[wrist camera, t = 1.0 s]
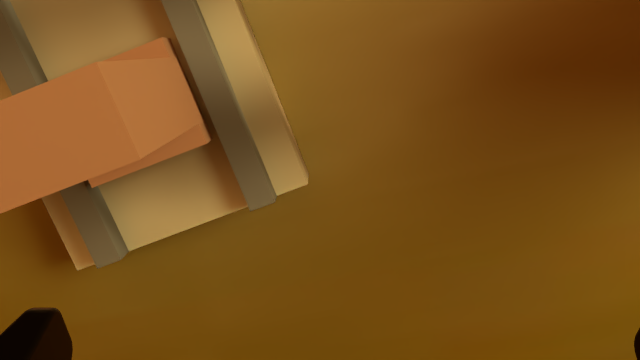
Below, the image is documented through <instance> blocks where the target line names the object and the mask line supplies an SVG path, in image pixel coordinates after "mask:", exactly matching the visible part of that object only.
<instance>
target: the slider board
mask: <svg viewBox="0 0 640 360" xmlns="http://www.w3.org/2000/svg"><path fill="white" fill-rule="evenodd" d="M161 37H164V38H170V39H171V42H172V44H173V46H174V49H175V51H176V53H177V56H178V58H179V60H180V63H181V65H182V67H183V70H184V72H185V74H186V77H187V79H188V81H189V84H190V86H191V88H192V91H193V93H194V96H195V98H196V100H197V103H198V105H199V107H200V110H201V112H202V114H203V117H204V119H205V121H206V124H207V126H208V128H209V131H210V133H211V135H212V138H213V139H212V140H211V141H210V142H208V143H207V144H205V145H202V146H199V147H197V148H194V149H192V150H189V151H187V152H184V153H181V154H179V155H176V156H174V157H171V158H168V159H166V160H163V161H161V162H158V163H155V164H153V165H150V166H148V167H145V168H143V169H140V170H137V171H135V172H132V173H130V174H127V175H124V176H122V177H119V178H117V179H114V180H111V181H109V182H106V183H104V184H101V185H98V186H96V187H93V188H92V187H91V185H90V183H89V181H88V180H86V181H83V182H81V183H78V184H75V185H73V186H70V187H68V188H65V189H62V190H60V191H57V192H55V193H52V194H50V195H47V196H44V197H42V198H41V199H42V201H43V203H44V205H45V207H46V209H47V211H48V213H49V215H50V217H51V219H52V221H53V223H54V225H55V227H56V229H57V231H58V233H59V235H60V237H61V239H62V241H63V243H64V245H65V247H66V249H67V251H68V253H69V255H70V257H71V259H72V261H73V263H74V265H75V267H76V269H77V271H78V270H80V269H83V268H86V267H88V266H91V265H94V264H95V265H96V267H97V269H98V268H100V267H103V266H106V265H108V264H111V263H114V262H116V261H119V260H121V259H122V258H123V257H124V256H125V255H126V254H127V253H128V252H129V251H131V250H134V249H136V248H139V247H142V246H144V245H147V244H150V243H152V242H155V241H158V240H160V239H163V238H166V237H168V236H171V235H174V234H176V233H179V232H182V231H184V230H187V229H190V228H192V227H195V226H198V225H200V224H203V223H206V222H208V221H211V220H214V219H216V218H219V217H222V216H224V215H227V214H230V213H232V212H235V211H238V210H240V209H243V208H246V207H249V209H250V211H253V210H255V209H258V208H261V207H263V206H266V205H269V204H271V203H274V202H275V200H276V197H277V196H278V195H280V194H283V193H286V192H288V191H291V190H294V189H296V188H299V187H302V186H304V185H307V184H308V177H309V173H308V171H307V168H306V165H305V163H304V160H303V158H302V155H301V153H300V150H299V148H298V145H297V143H296V140H295V138H294V135H293V133H292V130H291V128H290V125H289V123H288V120H287V118H286V115H285V112H284V110H283V107H282V105H281V102H280V100H279V97H278V95H277V92H276V90H275V87H274V85H273V82H272V80H271V77H270V75H269V72H268V70H267V67H266V65H265V62H264V60H263V57H262V54H261V52H260V49H259V47H258V44H257V42H256V39H255V37H254V34H253V32H252V29H251V27H250V24H249V22H248V19H247V17H246V14H245V12H244V9H243V7H242V4H241V2H240V0H0V101H1V100H3V99H6V98H8V97H11V96H13V95H15V94H18V93H20V92H23V91H25V90H28V89H30V88H33V87H35V86H38V85H40V84H43V83H45V82H48V81H50V80H53V79H55V78H58V77H60V76H62V75H65V74H67V73H70V72H72V71H75V70H77V69H80V68H82V67H85V66H87V65H90V64H92V63H95V62H102V61H104V60H107V59H109V58H112V57H114V56H117V55H119V54H121V53H124V52H126V51H129V50H131V49H134V48H136V47H139V46H141V45H144V44H146V43H149V42H151V41H154V40H156V39H159V38H161Z"/></svg>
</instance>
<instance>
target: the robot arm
mask: <svg viewBox="0 0 640 360" xmlns="http://www.w3.org/2000/svg"><path fill="white" fill-rule="evenodd" d="M634 348H635V353H636V357H637V360H640V328H639V330H638V332H637V334H636V336H635V340H634ZM72 350H73V349H72V341H71V338H70V335H69V333H68V330H67V327H66V325H65V322H64V320H63V317H62V315H61V313H60V311H59V310H58V309H56V308H31V309H28V310H27V311H25V312H24V313H23V314H22V315H21V316H20V317H19V318H17V319H16V320H15V321H14V322H13V323H12V324H11V325H10V326H9V327H8V328H7V329H6V330H5V331H4V332H3V333H2V334H1V335H0V360H71V359H72Z"/></svg>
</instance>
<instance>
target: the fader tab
mask: <svg viewBox="0 0 640 360" xmlns="http://www.w3.org/2000/svg"><path fill="white" fill-rule="evenodd" d="M212 139H213V138H212V135H211V133H210V131H209V128H208V126H207V124H206V121H205V119H204V117H203V114H202V112H201V110H200V107H199V105H198V103H197V100H196V98H195V96H194V93H193V91H192V88H191V86H190V84H189V81H188V79H187V77H186V74H185V72H184V70H183V67H182V65H181V63H180V60H179V58H178V56H177V53H176V51H175V49H174V46H173V44H172V42H171V39H170V38H164V37H161V38H159V39H156V40H154V41H151V42H149V43H146V44H144V45H141V46H139V47H136V48H134V49H131V50H129V51H126V52H124V53H121V54H119V55H117V56H114V57H112V58H109V59H107V60H104V61H102V62H95V63H92V64H90V65H87V66H85V67H82V68H80V69H77V70H75V71H72V72H70V73H67V74H65V75H62V76H60V77H58V78H55V79H53V80H50V81H48V82H45V83H43V84H40V85H38V86H35V87H33V88H30V89H28V90H25V91H23V92H20V93H18V94H15V95H13V96H11V97H8V98H6V99H3V100H1V101H0V214H1V213H3V212H6V211H8V210H11V209H13V208H16V207H19V206H21V205H24V204H26V203H29V202H31V201H34V200H37V199H39V198H42V197H44V196H47V195H50V194H52V193H55V192H57V191H60V190H62V189H65V188H68V187H70V186H73V185H75V184H78V183H81V182H83V181H86V180H88V181H89V183H90V185H91V187H92V188H93V187H96V186H98V185H101V184H104V183H106V182H109V181H111V180H114V179H117V178H119V177H122V176H124V175H127V174H130V173H132V172H135V171H137V170H140V169H143V168H145V167H148V166H150V165H153V164H155V163H158V162H161V161H163V160H166V159H168V158H171V157H174V156H176V155H179V154H181V153H184V152H187V151H189V150H192V149H194V148H197V147H199V146H202V145H205V144H207V143H208V142H210V141H211V140H212Z"/></svg>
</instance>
